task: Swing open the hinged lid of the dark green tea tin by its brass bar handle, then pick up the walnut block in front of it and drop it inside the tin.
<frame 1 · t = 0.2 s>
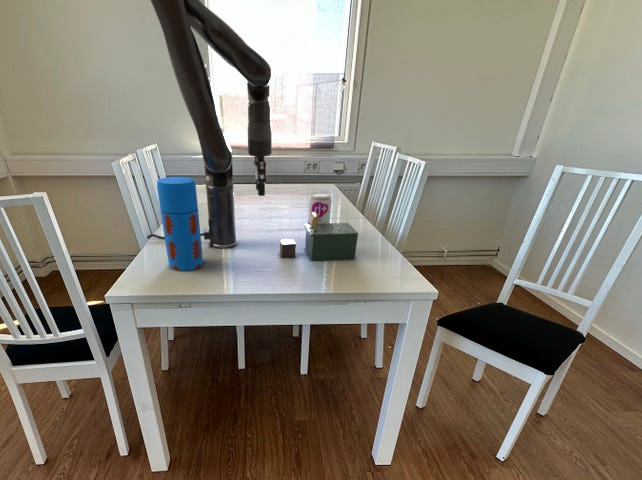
hand: (260, 192, 134), 17 cm above the table, tool pointing down, fingers open, 8 cm apart
walnut block: (287, 255, 133), on the table
tea tin: (329, 253, 135), on the table
tin lid: (330, 222, 129), point 11 cm above the table, hinge at 0.0°
supplement can: (317, 236, 151), on the table
thermos: (186, 265, 126), on the table
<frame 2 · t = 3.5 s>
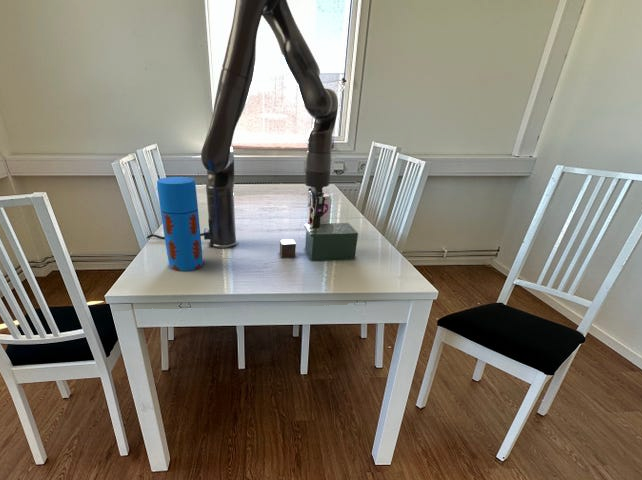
hand: (314, 225, 129), 10 cm above the table, tool pointing down, fingers closed on tin lid, 5 cm apart
tin lid: (330, 222, 129), point 11 cm above the table, hinge at 0.0°, touching gripper
everything else where it was.
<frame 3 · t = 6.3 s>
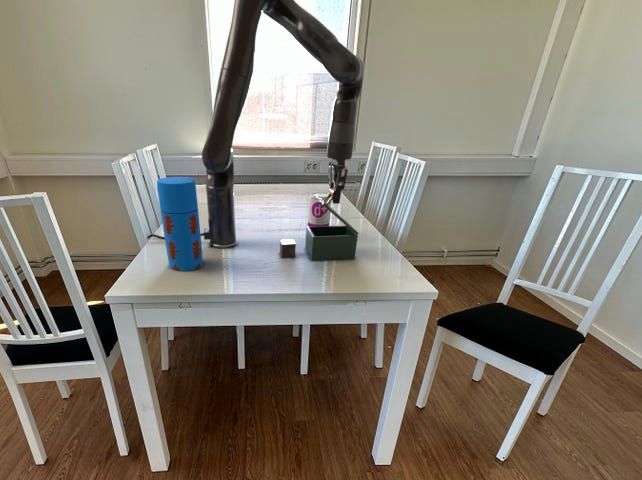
hand: (333, 200, 125), 17 cm above the table, tool pointing down, fingers closed on tin lid, 5 cm apart
tin lid: (341, 208, 127), point 15 cm above the table, hinge at 38.6°, touching gripper
everything else where it was.
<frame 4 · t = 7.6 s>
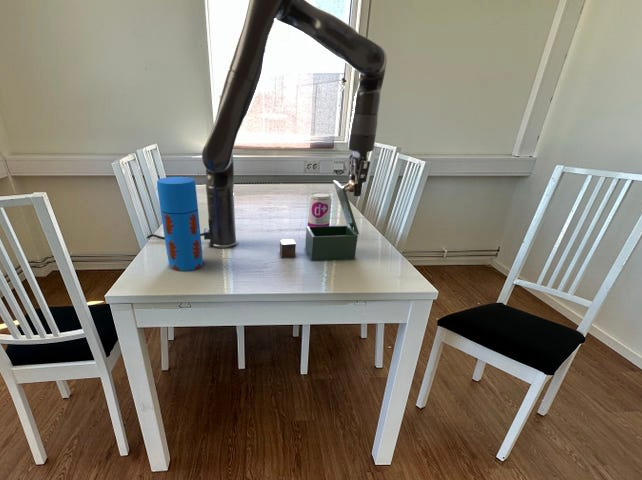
hand: (354, 193, 124), 19 cm above the table, tool pointing down, fingers closed on tin lid, 5 cm apart
tin lid: (353, 203, 126), point 16 cm above the table, hinge at 65.5°, touching gripper
everything else where it was.
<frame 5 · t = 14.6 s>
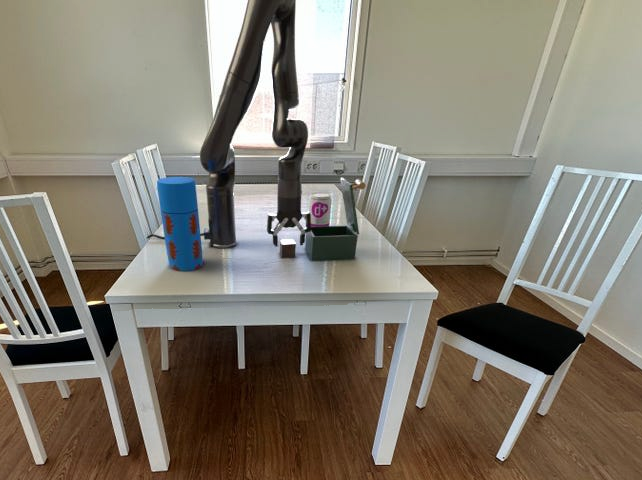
hand: (288, 245, 132), 3 cm above the table, tool pointing down, fingers open, 8 cm apart
tin lid: (356, 203, 126), point 16 cm above the table, hinge at 74.3°
everything else where it was.
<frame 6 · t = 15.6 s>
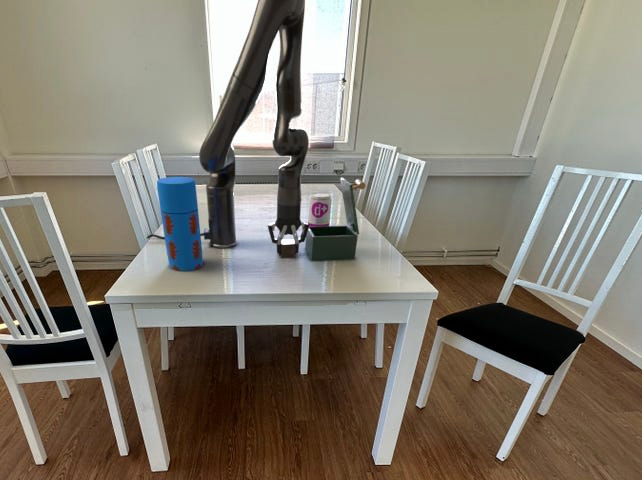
hand: (287, 254, 133), 0 cm above the table, tool pointing down, fingers closed on walnut block, 4 cm apart
walnut block: (287, 255, 133), on the table, touching gripper
everything else where it was.
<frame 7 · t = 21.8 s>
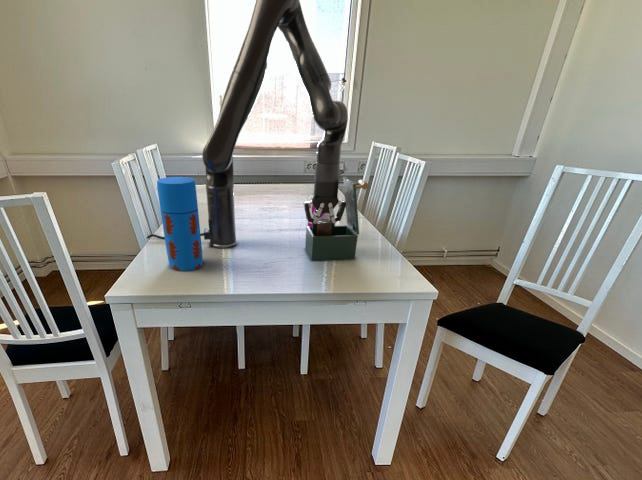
hand: (322, 233, 131), 7 cm above the table, tool pointing down, fingers closed on walnut block, 4 cm apart
walnut block: (322, 235, 131), point 7 cm above the table, touching gripper
tin lid: (358, 203, 126), point 16 cm above the table, hinge at 78.1°
everything else where it was.
when the fingers open (10 cm above the table, at t = 38.1 s): walnut block drops 9 cm, resting on tea tin.
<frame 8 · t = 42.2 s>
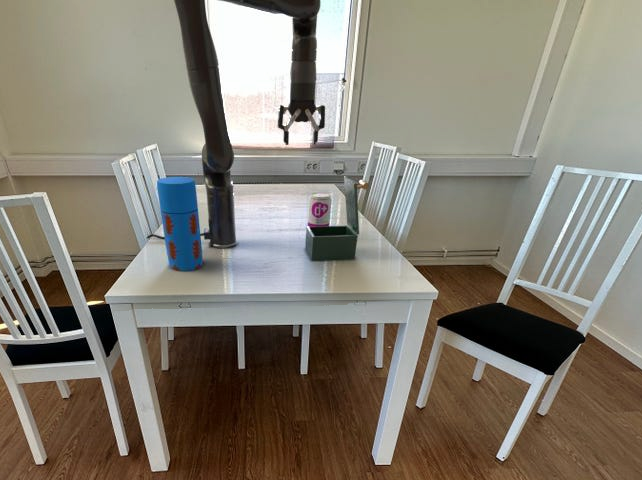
hand: (300, 144, 123), 32 cm above the table, tool pointing down, fingers open, 8 cm apart
walnut block: (320, 251, 134), point 1 cm above the table, touching tea tin
tin lid: (358, 203, 126), point 16 cm above the table, hinge at 79.4°
everything else where it was.
at the end: tin lid at +79° (first picture: +0°); walnut block inside the target area in the tea tin (3.0 cm from its centre), point 0.8 cm above the tea tin's base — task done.
